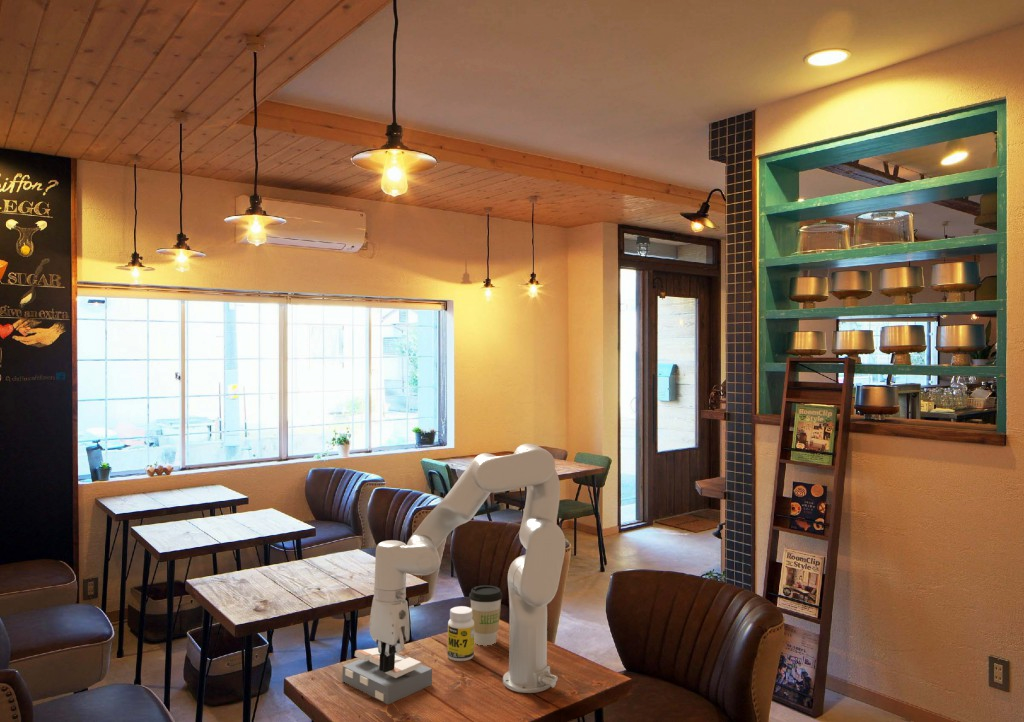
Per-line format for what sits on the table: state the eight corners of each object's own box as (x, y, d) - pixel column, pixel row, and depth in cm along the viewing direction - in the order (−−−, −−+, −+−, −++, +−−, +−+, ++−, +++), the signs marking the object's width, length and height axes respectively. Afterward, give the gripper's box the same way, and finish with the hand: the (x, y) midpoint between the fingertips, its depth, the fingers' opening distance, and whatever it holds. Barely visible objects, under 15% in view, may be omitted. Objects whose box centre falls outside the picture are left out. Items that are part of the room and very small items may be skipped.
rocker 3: (421, 666, 176) (421, 661, 176) (395, 678, 170) (395, 672, 170) (409, 661, 179) (409, 656, 179) (384, 672, 173) (384, 667, 173)
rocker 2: (404, 664, 180) (405, 658, 180) (380, 666, 174) (381, 660, 174) (393, 659, 183) (394, 654, 183) (369, 661, 177) (370, 655, 177)
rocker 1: (389, 656, 184) (390, 651, 184) (365, 660, 178) (365, 655, 178) (379, 651, 187) (379, 646, 187) (354, 655, 181) (355, 650, 181)
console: (432, 684, 178) (432, 664, 178) (387, 704, 167) (387, 683, 167) (386, 664, 190) (386, 645, 190) (341, 682, 179) (341, 662, 179)
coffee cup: (498, 650, 200) (498, 596, 200) (464, 647, 202) (464, 594, 202) (505, 636, 210) (505, 585, 210) (473, 634, 211) (473, 583, 212)
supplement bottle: (443, 660, 193) (444, 613, 193) (451, 650, 200) (452, 604, 200) (469, 663, 191) (470, 615, 191) (477, 652, 198) (477, 606, 198)
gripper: (422, 597, 170) (419, 674, 169) (382, 583, 179) (379, 656, 179) (398, 604, 164) (395, 684, 164) (357, 589, 174) (354, 665, 174)
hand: (386, 669), depth 171 cm, fingers closed
